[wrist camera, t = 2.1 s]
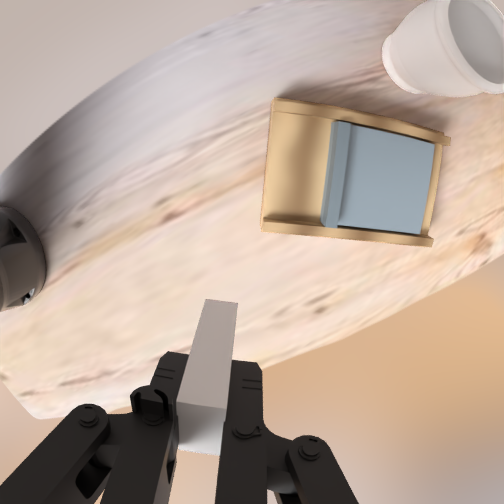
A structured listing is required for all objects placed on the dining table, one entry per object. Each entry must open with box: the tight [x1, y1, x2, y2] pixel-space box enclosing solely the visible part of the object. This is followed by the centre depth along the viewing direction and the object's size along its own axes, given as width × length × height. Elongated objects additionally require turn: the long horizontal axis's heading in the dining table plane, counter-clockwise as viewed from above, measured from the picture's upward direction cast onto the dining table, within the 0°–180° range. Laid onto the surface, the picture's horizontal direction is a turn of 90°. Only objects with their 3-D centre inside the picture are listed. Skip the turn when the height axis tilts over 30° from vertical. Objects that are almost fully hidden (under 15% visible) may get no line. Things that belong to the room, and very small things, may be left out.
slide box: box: [260, 97, 451, 247], centre depth 32 cm, size 20×14×5 cm
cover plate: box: [320, 121, 435, 234], centre depth 30 cm, size 12×10×3 cm
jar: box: [382, 0, 504, 97], centre depth 23 cm, size 11×10×15 cm
